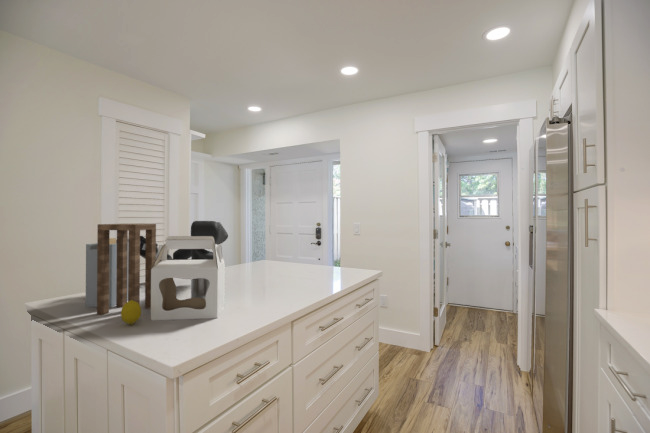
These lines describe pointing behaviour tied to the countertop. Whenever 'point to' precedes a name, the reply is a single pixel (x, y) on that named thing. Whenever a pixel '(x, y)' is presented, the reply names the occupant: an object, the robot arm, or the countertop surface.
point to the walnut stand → (124, 264)
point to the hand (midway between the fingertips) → (130, 237)
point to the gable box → (166, 270)
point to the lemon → (131, 312)
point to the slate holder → (92, 274)
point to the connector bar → (114, 241)
